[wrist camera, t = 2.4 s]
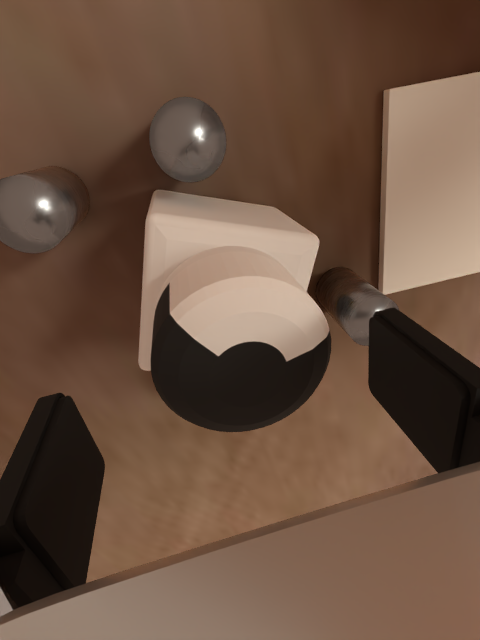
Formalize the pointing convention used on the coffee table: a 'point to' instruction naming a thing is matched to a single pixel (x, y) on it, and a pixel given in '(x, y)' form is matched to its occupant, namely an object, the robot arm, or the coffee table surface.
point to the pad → (430, 183)
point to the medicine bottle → (229, 311)
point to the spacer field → (182, 164)
